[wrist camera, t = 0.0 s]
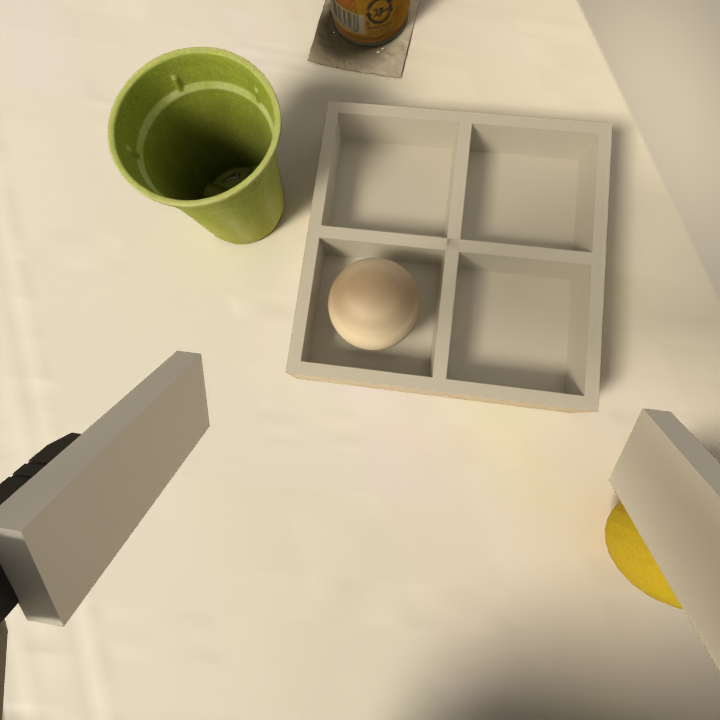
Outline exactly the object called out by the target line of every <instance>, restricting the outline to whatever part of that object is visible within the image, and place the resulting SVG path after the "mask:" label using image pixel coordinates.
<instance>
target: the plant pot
mask: <svg viewBox="0 0 720 720" xmlns="http://www.w3.org/2000/svg"><path fill="white" fill-rule="evenodd" d="M280 135H281V112H280V107H279V103H278V99H277V96H276V94H275V92H274V90H273V88H272V86H271V84H270V83H269V81H268V80H267V78H266V77H265V76H264V74H263V73H262V72H261V71H260V70H259V69H258V68H257V67H255V66H254V65H253V64H252V63H250V62H249V61H247V60H246V59H244V58H243V57H241V56H239V55H236V54H234V53H232V52H229V51H227V50H223V49H218V48H212V47H191V48H183V49H178V50H174V51H171V52H168V53H166V54H163V55H161V56H159V57H156V58H155V59H153V60H151V61H150V62H148V63H146V64H145V65H144V66H143V67H142V68H140V69H139V70H138V71H137V72H136V73H135V74H134V75H133V76H132V77H131V78H130V79H129V80H128V81H127V82H126V84H125V85H124V86H123V88H122V89H121V91H120V92H119V94H118V96H117V98H116V99H115V102H114V104H113V107H112V110H111V114H110V117H109V123H108V143H109V149H110V153H111V156H112V159H113V161H114V163H115V165H116V167H117V169H118V170H119V172H120V173H121V175H122V176H123V177H124V178H125V180H126V181H127V182H128V183H129V184H130V185H131V186H133V187H134V188H135V189H136V190H137V191H139V192H140V193H141V194H143V195H145V196H146V197H148V198H150V199H152V200H154V201H156V202H159V203H162V204H165V205H168V206H173V207H176V208H179V209H180V210H182V211H183V212H184V213H186V214H187V215H188V216H190V217H191V218H193V219H194V220H195V221H197V222H198V223H199V224H201V225H202V226H203V227H205V228H206V229H207V230H209V231H210V232H211V233H213V234H214V235H215V236H217V237H218V238H220V239H222V240H225V241H228V242H231V243H234V244H248V243H252V242H256V241H258V240H260V239H262V238H264V237H266V236H267V235H268V234H270V233H271V232H272V231H273V230H274V228H275V227H276V225H277V223H278V221H279V219H280V217H281V214H282V212H283V210H284V196H283V190H282V184H281V179H280V173H279V167H278V161H277V154H276V152H277V147H278V144H279V140H280ZM236 174H237V175H240V177H239V178H237V179H232V180H230V181H228V182H226V183H223V182H224V180H225V179H227V178H228V177H231V176H233V175H236Z"/></svg>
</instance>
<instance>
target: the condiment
mask: <svg viewBox="0 0 720 720" xmlns="http://www.w3.org/2000/svg"><path fill="white" fill-rule="evenodd" d="M418 5H419V0H325V4H324V6H323V11H322V13H321V17H320V20H319V22H318V27H317V31H316V34H315V38H314V41H313V44H312V47H311V50H310V54H309V58H308V61H310V62H315V63H319V64H321V65H327V66H331V67H338V68H341V69H347V70H353V71H359V72H360V73H373V74H377V75H382V76H392V77H398V78H400V77H401V73H402V69H403V65H404V61H405V57H406V53H407V48H408V44H409V41H410V36H411V33H412V29H413V25H414V21H415V17H416V13H417V9H418ZM333 32H335V33H333ZM381 48H384V49H383V50H381ZM377 51H380V52H379V53H378V54H377V53H376V52H377Z"/></svg>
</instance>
